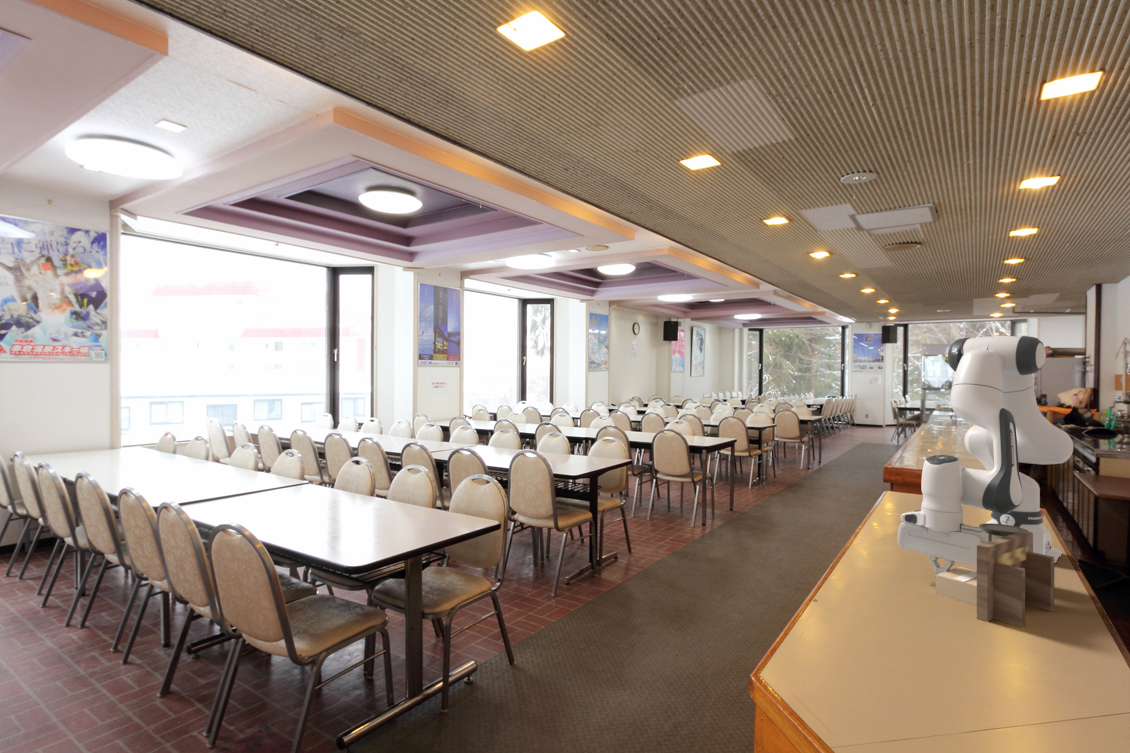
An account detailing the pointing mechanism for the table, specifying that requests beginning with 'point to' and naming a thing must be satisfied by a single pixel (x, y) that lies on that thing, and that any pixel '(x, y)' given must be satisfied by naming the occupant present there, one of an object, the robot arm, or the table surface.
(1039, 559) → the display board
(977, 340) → the robot arm
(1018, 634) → the table surface
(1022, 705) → the table surface
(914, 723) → the table surface
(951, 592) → the carton
